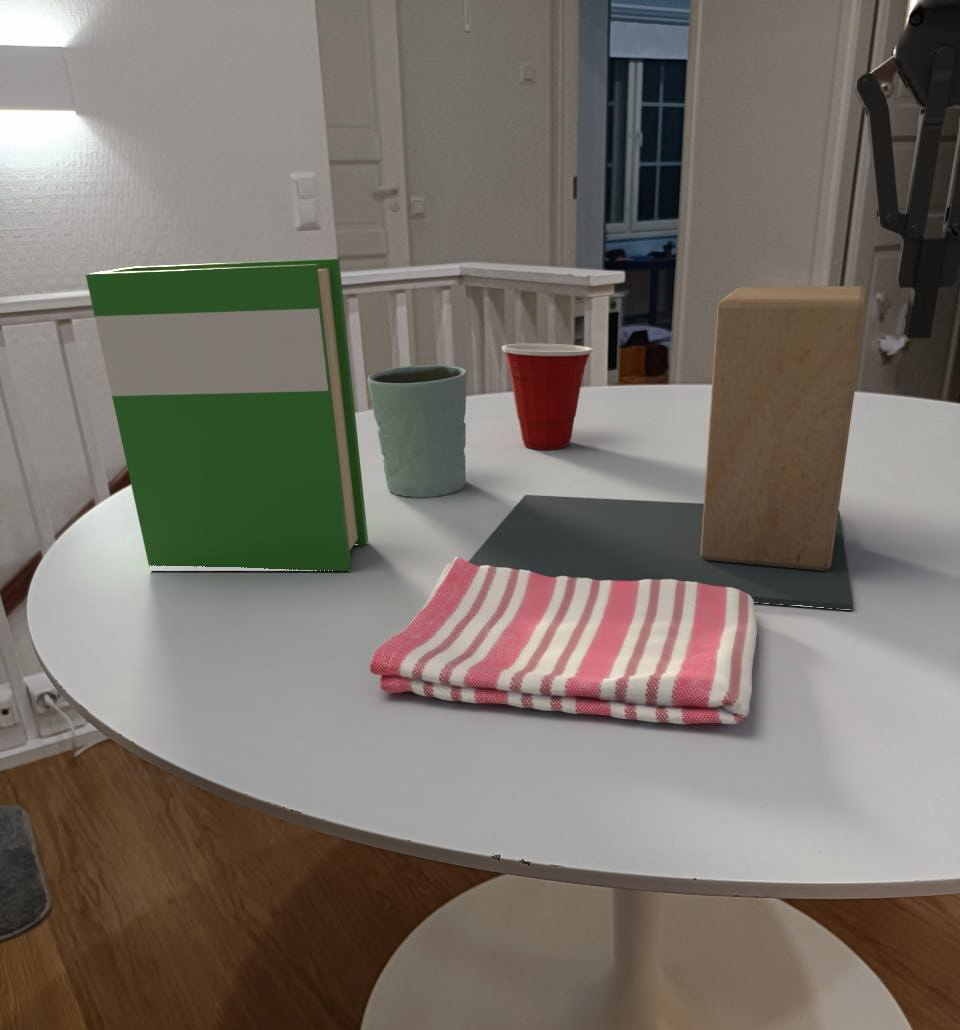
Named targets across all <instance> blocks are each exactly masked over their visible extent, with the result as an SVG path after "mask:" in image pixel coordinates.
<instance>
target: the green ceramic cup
mask: <svg viewBox="0 0 960 1030" xmlns="http://www.w3.org/2000/svg"><path fill="white" fill-rule="evenodd" d="M467 372H468V371H467V370H466V369H465V368H463V367H460V366H455V365H449V364H448V365H446V364H420V365H419V364H418V365H410V366H409V365H408V366H400V367H393V368H388V369H383V370H380V371H377V372H373V373H371V374H370V375H368V377H367V385H368V389H369V390H368V391H369V395H370V399H371V405H372V410H373V415H374V419H375V422H376V425H377V426H378V429H377V437H378V441H379V446H380V452H381V455H382V456H383V462H382V463H383V470H384V471H383V472H384V475H385V482H386V487H387V490H388V491H389V490H390V491H391V492H393V493H396V494H398V495H397V496H399V495H405V496H411V497H410V498H433V497H442V496H447V495H451V494H454V493H455V492H458V491H460V490H462V489H463V488H464V487H465V485H466V481H467V477H466V476H467V473H466V472H467V471H466V470H467V469H466V468H467V466H466V461H467V460H466V454H465V448H466V443H467V442H466V441H467V439H466V435H467V432H466V431H467V429H466V428H467V427H466V422H465V417H466V412H467V411H466V410H467V409H466V408H467V407H466V406H467V405H466V404H467V375H468V373H467ZM390 491H389V492H390ZM391 492H390V493H391ZM393 493H392V494H393Z"/></svg>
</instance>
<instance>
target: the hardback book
mask: <svg viewBox="0 0 960 1030" xmlns="http://www.w3.org/2000/svg"><path fill="white" fill-rule="evenodd" d="M341 272H342V271H341V264H340V258H338V257H337V258H316V259H294V260H293V259H291V260H269V261H267V260H266V261H245V262H243V261H242V262H221V263H217V262H216V263H196V264H195V263H193V264H172V265H171V264H170V265H169V264H168V265H147V266H146V265H145V266H128V267H122V268H116V269H109V270H103V271H97V272H91V273H86V274H85V279H86V283H87V288H88V293H89V297H90V302H91V307H92V310H93V315H94V319H95V320H94V321H95V325H96V328H97V333H98V339H99V343H100V347H101V352H102V357H103V360H104V364H105V365H104V366H105V370H106V371H105V372H106V375H107V380H108V385H109V389H110V393H111V398H112V403H113V407H114V412H115V416H116V417H115V418H116V422H117V427H118V430H119V435H120V439H121V444H122V449H123V453H124V457H125V462H126V463H125V464H126V467H127V472H128V476H129V480H130V486H131V489H132V494H133V500H134V503H135V508H136V513H137V518H138V522H139V526H140V531H141V537H142V541H143V545H144V550H145V554H146V560H147V563H148V567H149V566H150V565H151V566H153V565H154V566H155V565H156V566H163V565H164V566H194V567H195V566H196V567H197V566H202V567H203V566H205V567H241V568H242V567H244V568H246V567H247V568H264V569H266V568H268V569H286V570H287V569H289V570H292V569H293V570H296V569H297V570H313V571H314V570H317V571H320V570H321V571H324V570H325V571H328V570H329V571H332V570H333V571H349V570H350V569H351V570H352V568H351V567H352V560H351V559H352V558H351V550H352V549H353V547H354V546H356V545H355V544H358V545H357V546H367V545H368V543H369V535H368V525H367V516H366V507H365V506H366V505H365V495H364V488H363V486H364V485H363V477H362V468H361V467H362V466H361V457H360V447H359V437H358V430H357V420H356V419H357V418H356V408H355V401H354V390H353V381H352V371H351V361H350V350H349V342H348V331H347V323H346V311H345V303H344V302H345V301H344V293H343V284H342V274H341ZM367 542H368V543H367ZM366 544H367V545H366ZM351 570H350V571H351ZM350 571H349V572H350Z"/></svg>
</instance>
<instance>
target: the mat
mask: <svg viewBox="0 0 960 1030" xmlns="http://www.w3.org/2000/svg"><path fill="white" fill-rule="evenodd" d="M703 509H704V502H702V503H701V502H699V503H698V502H681V501H679V502H678V501H661V500H660V501H658V500H639V499H638V500H637V499H620V498H619V499H618V498H599V497H598V498H597V497H581V496H580V497H578V496H577V497H576V496H557V495H536V494H525V495H524V496H523V497H522V498H521V499H520V500H519V502H517V504H515V506H514V507H513V508H512V510H511V511H510V512H509V513H508V514H507V515H506V517H505V518H504V519H503V520H502V521H501V522H500V524H499V525H498V526H497V527H496V528H495V529H494V530H493V532H492V533H491V534H490V535H489V537H487V539H486V540H485V541H484V542H483V544H482V545H480V547H479V548H478V549H477V550H476V552H475V553H474V554H473V555H472V557H470V559H468V560H467V561H468V562H469V563H470V564H473V565H475V566H478V567H479V566H486V565H489V566H492V567H500V568H510V569H515V570H528V571H531V572H533V573H536V574H539V575H543V576H548V577H554V578H555V577H559V576H567V577H572V578H589V579H593V580H599V581H600V580H603V581H605V580H612V581H639V580H644V579H652V580H663V579H672V580H678V581H683V582H685V581H689V582H698V583H701V584H706V585H711V586H717V587H731V588H735V589H738V590H740V591H743V592H745V593H747V594H749V595H750V596H751V597H752V599H753V600H754V602H755V603H756V602H758V603H769V604H783V605H803V606H813V607H824V608H832V609H837V608H838V609H850V610H852V611H853V607H854V602H853V594H852V587H851V581H850V574H849V567H848V559H847V554H846V547H845V546H846V545H845V540H844V539H845V538H844V532H843V527H842V519H841V513H840V509H839V510H838V517H837V524H836V532H835V539H834V546H833V554H832V561H831V566H830V568H829V569H828V570H824V571H820V570H809V569H799V568H788V567H777V566H766V565H756V564H745V563H734V562H723V561H712V560H705V559H703V558H702V557H701V554H700V553H701V538H702V523H703Z"/></svg>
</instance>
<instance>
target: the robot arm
mask: <svg viewBox="0 0 960 1030" xmlns="http://www.w3.org/2000/svg"><path fill="white" fill-rule="evenodd" d="M897 74H898V76H899V78H900V79H901V81H902V84H903V85H904V87H905V88H906V90H907V92H908V94H909V96H910V97H911V99H912V101H913V103H914V104H915V106H917V108H919V113H918V120H917V132H916V139H915V147H914V153H913V159H912V166H911V171H910V179H909V185H908V190H907V191H908V192H907V199H906V206H905V210H904V213H902V212H899V201H898V191H897V181H896V170H895V169H896V167H895V158H894V148H893V137H892V126H891V125H892V124H891V114H890V108H889V104H888V99H890V98H891V97H892V95H893V94H894V91H895V85H894V79H895V76H896V75H897ZM853 90H854V94H855V96H856V97H857V99H858V100H857V101H858V102H859V104H860V105H861V107H862V109H863V111H864V113H865V115H866V123H867V133H868V143H869V154H870V164H871V174H872V183H873V193H874V204H875V214H876V215H875V216H876V223H877V225H878V226H879V227H880V228H882V229H885V230H887V231H890V232H893V233H895V234H897V235H898V236H899V237H900V241H901V243H900V250H899V255H898V256H899V257H898V264H897V271H896V277H895V279H896V284H897V286H898V287H899V288H900V289H901V288H903V289H904V288H905V289H907V288H910V291H909V297H908V303H907V309H906V315H905V322H904V328H903V334H904V336H905V337H906V338H907V339H931V336H932V330H933V324H934V320H935V319H934V318H935V313H936V308H937V301H938V295H939V289H940V288H953V287H954V285H955V283H956V282H957V280H958V276H959V269H960V117H959V119H958V132H957V136H956V137H957V138H956V142H955V143H956V145H955V150H954V156H953V163H952V168H951V169H952V170H951V175H950V180H949V186H948V193H947V198H946V205H945V212H944V219H943V224H942V236H941V237H940V236H939V237H938V236H937V237H924V236H925V235H924V234H925V232H926V228H927V222H928V216H929V210H930V205H931V199H932V192H933V186H934V179H935V173H936V168H937V162H938V155H939V149H940V143H941V137H942V130H943V126H944V122H945V118H946V113H947V110H948V109H951V108H954V109H959V110H960V0H907V3H906V11H905V17H904V24H903V28H902V30H901V33H900V36H899V37H898V39H896V42H895V44H894V45H893V48H892V51H891V56H890V57H889V58H888V59H887V60H885V61H884V62H882V63H881V64H880V65H879V66H877V67H876V68H874V69H873V70H871V71H870V72H865V73H863V74H861V75H860V76H859V78H858V79H857V80H856V82H855V84H854V88H853Z"/></svg>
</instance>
